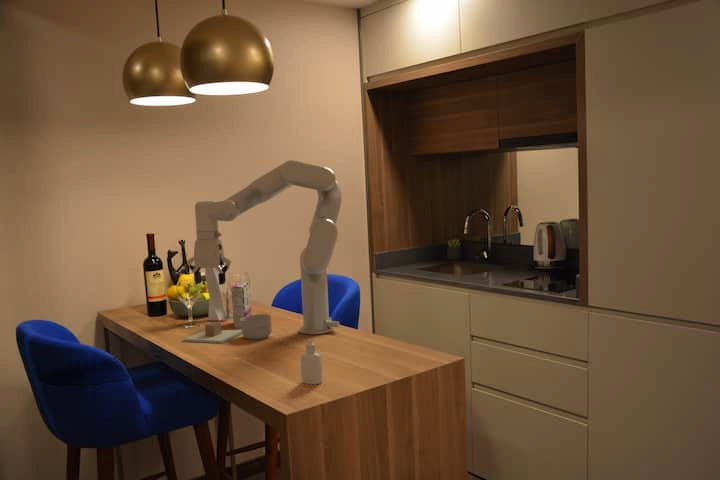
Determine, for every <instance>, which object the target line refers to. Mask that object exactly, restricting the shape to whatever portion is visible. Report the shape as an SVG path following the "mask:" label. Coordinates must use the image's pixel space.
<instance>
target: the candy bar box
mask: <svg viewBox="0 0 720 480" xmlns="http://www.w3.org/2000/svg"><path fill="white" fill-rule="evenodd" d="M230 289H231V290H230V291H231V301H232V303H231V304H232V318H233V319H232V320H233V329H242V327H241V321H240V319H241V318H243V317H246V316H250V315H252V310H251V309H252V308H251V297H250V296H251V295H250V282H249V281H248V282H247V281H246V282H244V281H243V282H241V281H240V282H236V283H235V284H234V285H233V286H232V287H231V288H230Z"/></svg>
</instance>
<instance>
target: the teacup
mask: <svg viewBox="0 0 720 480" xmlns="http://www.w3.org/2000/svg"><path fill="white" fill-rule="evenodd" d="M240 321H241V327H242V328H241V331H242V333H243V334H242V335H243V337H244V338H246V339H247V340H250V341H256V340H257V341H258V340H265V339H267V338H268V337H269V336H270V335H271V333H272V330H273V329H272V315H270V314H267V313H259V314H251V315H250V316H246V317H243V318H241V319H240Z"/></svg>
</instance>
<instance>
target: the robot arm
mask: <svg viewBox="0 0 720 480" xmlns="http://www.w3.org/2000/svg"><path fill="white" fill-rule="evenodd" d="M293 186H296V187H301V188H303V189H304V188H305V189H310V190H314V191H316V193H317V196H318V197H317V204H316V206H315V207H316V208H315V211H314V213H313V218H312V220H311V223H310V226H309V229H308V231H309V237H308V240H307V245H306V247H305V248H303V249H302V251H301V252H300V255H299V267H300V279H301V302H302V304H301V305H302V324H303V325H302V326H300V327H299V329H298V330H299V333H301V334H304V335H305V334H306V335H322V334H327V333H331V332H333V331H334V328H340V322H339V321H338V320H337V321H336V320H332V317H331V316H330V314H329V293H328V292H329V290H328V287H329V286H328V274H327V273H328V272H327V271H328V268H329V265H330V263H331V260H332V256H333V253H334V249H335V247H336V246H335V245H336V242H337V240H338V234H339V233H338V231H339V230H338V227H337V221H338V218H339V213H340V210H341V206H342V190H341V187H340V184H339V182H338V180H337V178H336V174H335V172H334V171H333V170H332V169H331V168H329V167H326V166H321V165H316V164H312V163H305V162H303V161H298V160H293V159H292V160H286V161H285V162H283V163H281V164H279V165H278V166H277V167H274V168H273V169H271V170H270V171H268V172H266V173H265V174H262V176H260V177H258V178H256V179H255V180H253V181H252V182H251V183H250V184H248V185H247V186H246V187H244V188H243V189H241V190H239V191H238V192H236V193H235V194H233V195H231V196H230V197H228V198H225V199H224V200H221V201H214V200H213V201H212V200H203V201H196V203H195V205H194V213H195V215H194V216H195V228H196V229H195V231H196V232H195V234H196V240H195V242H194V249H193V251H194V252H193V256H192V257H190V258H189V259H187V260H186V263H187V265H188V267H189V269H190V270H191V272H192V274H193V278H194V284H195V285H198V284H201V283H202V274H201V273H202V272H201V270H202V269H205V268H217V270H218V271H219V272H220V273H219V274H218V275H219V284H220V285H222V284H223V285H225V284H226V279H227V278H226V273H227V272H228V270H229V269H230V266H231V264H232V260H231V259H230V258H228V257H226V256H225V252H224V247H223V242H222V239H220V237H221V236H222V232H219V225H218V223H219V222H232V221H234V220H236V219H237V218H238V217H239V216H241V215H243V214H244V213H246V212H248V211H249V210H250V209H252V208H254V207H256V206H258V205H260V204H264V203H266V202H267V201H269V200H271V199H273V198H274V197H276V196H277V195H279V194H281V193H282V192H284V191H286V190H288V189H289V188H291V187H293ZM218 221H219V222H218Z"/></svg>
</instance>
